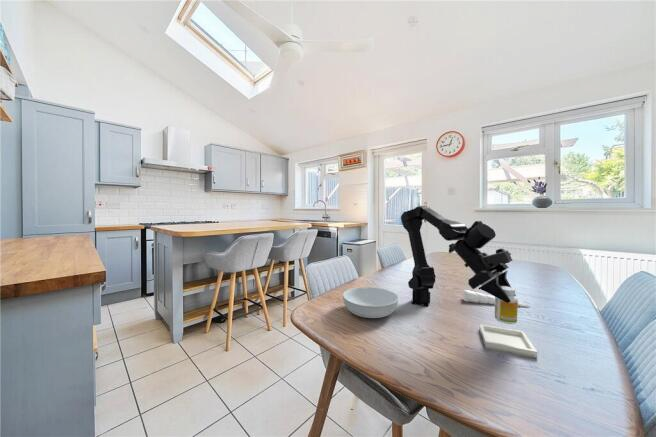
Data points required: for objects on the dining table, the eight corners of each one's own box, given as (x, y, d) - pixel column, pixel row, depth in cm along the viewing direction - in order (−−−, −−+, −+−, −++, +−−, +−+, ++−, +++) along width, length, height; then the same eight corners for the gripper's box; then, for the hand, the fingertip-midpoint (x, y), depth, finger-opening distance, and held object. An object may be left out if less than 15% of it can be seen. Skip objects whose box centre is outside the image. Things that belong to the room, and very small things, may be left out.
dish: (485, 348, 70) (485, 342, 70) (479, 329, 80) (479, 324, 80) (537, 358, 65) (537, 351, 65) (523, 337, 75) (523, 331, 75)
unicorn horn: (534, 311, 94) (534, 299, 94) (464, 303, 103) (464, 291, 103) (529, 306, 98) (529, 295, 98) (462, 299, 107) (462, 288, 107)
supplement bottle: (521, 323, 70) (523, 290, 70) (506, 325, 69) (507, 292, 69) (504, 315, 76) (505, 284, 75) (490, 317, 74) (491, 285, 74)
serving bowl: (407, 311, 94) (408, 294, 94) (379, 332, 79) (379, 311, 78) (363, 298, 108) (363, 282, 108) (331, 313, 93) (331, 295, 93)
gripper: (482, 243, 68) (530, 293, 60) (502, 237, 80) (544, 278, 72) (451, 266, 74) (492, 313, 67) (474, 257, 86) (511, 296, 79)
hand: (511, 299), depth 71 cm, fingers closed on supplement bottle, 5 cm apart
